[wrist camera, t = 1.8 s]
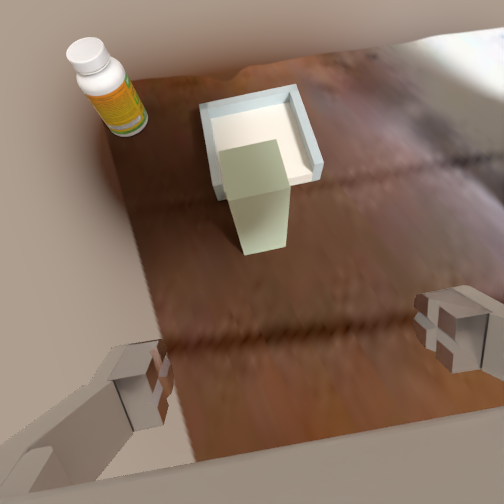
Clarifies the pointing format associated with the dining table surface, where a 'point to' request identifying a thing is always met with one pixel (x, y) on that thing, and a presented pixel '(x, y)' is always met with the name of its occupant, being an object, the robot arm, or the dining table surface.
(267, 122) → the holder
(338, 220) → the dining table surface
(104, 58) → the supplement bottle
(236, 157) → the green block
